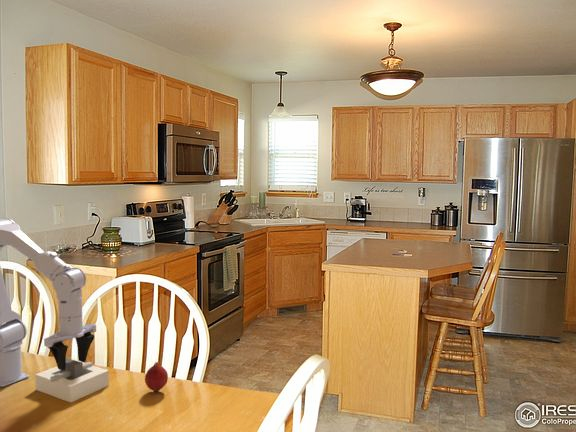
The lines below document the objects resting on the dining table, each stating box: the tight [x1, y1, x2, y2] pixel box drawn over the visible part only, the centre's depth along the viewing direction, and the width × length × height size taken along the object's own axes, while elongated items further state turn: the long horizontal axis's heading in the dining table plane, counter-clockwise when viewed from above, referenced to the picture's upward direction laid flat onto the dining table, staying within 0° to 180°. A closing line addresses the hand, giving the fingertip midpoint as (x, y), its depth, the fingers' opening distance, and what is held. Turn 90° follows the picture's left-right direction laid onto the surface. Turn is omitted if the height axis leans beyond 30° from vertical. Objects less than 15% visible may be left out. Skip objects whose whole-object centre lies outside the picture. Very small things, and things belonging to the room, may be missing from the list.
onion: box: [144, 361, 169, 393], centre depth 139 cm, size 6×6×8 cm
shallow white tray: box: [34, 359, 110, 403], centre depth 141 cm, size 14×12×5 cm
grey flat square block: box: [60, 357, 84, 380], centre depth 141 cm, size 6×2×6 cm, turn 60°
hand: (72, 365), depth 140 cm, fingers open, 6 cm apart
